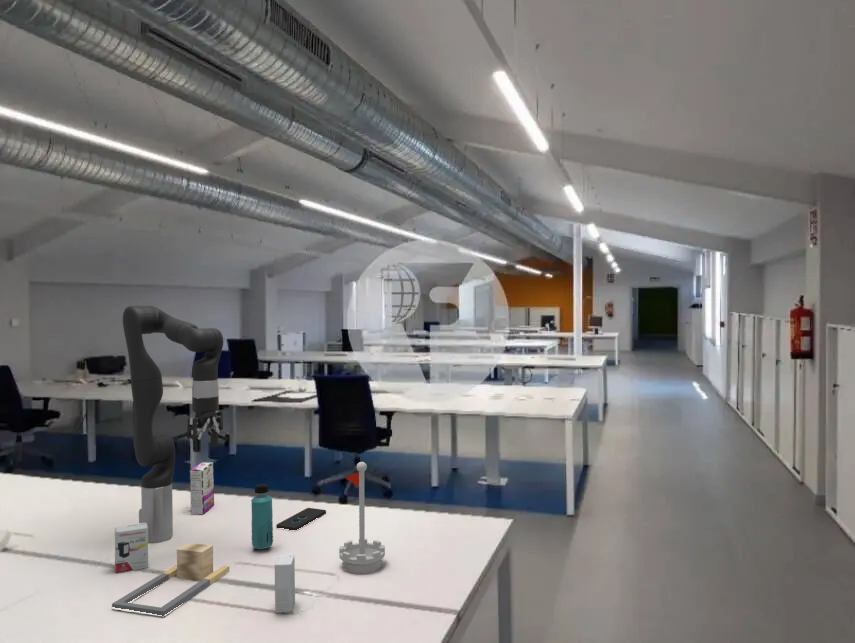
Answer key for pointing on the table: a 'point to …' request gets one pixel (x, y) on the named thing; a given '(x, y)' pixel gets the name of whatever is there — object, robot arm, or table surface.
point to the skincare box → (284, 583)
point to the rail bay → (173, 603)
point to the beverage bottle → (262, 518)
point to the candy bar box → (202, 488)
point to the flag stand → (361, 537)
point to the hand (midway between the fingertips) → (205, 448)
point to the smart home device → (301, 519)
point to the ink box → (131, 547)
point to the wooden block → (194, 561)
